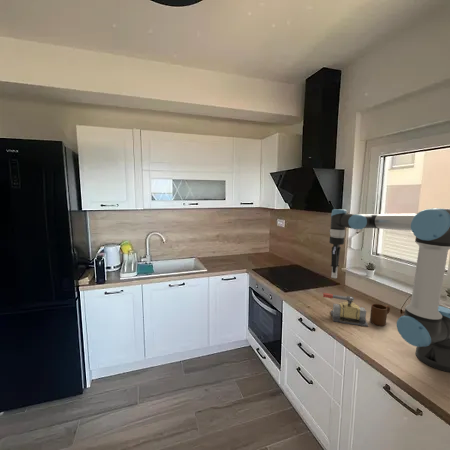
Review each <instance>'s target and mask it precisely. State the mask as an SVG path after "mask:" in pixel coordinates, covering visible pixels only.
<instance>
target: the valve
mask: <svg viewBox="0 0 450 450" xmlns="http://www.w3.org/2000/svg"><path fill="white" fill-rule="evenodd" d="M332 306H333V307H332V310H330V314H331V318H332V321H333V322H334V323H342V324H347V325H352V326H353V325H354V326H361V327H365V328H366V327H369V324H368V322H367V318H366V316H367V310H366V309H365V307H362V306H361V307H360V306H359V305H358V304H356V303H355V302H349V301H342V302H339V303H333V305H332Z"/></svg>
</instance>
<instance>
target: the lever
mask: <svg viewBox="0 0 450 450" xmlns="http://www.w3.org/2000/svg"><path fill="white" fill-rule="evenodd" d="M322 294H323V295H322V297H323V298H328V299H335V300H344V301H346V302H348V301H349V302H352V303H355V302H354V300H355V298H354V296H350V295H347V296H346V295H345V296H344V295H339V294H332V293H327V292H322Z"/></svg>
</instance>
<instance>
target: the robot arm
mask: <svg viewBox="0 0 450 450" xmlns="http://www.w3.org/2000/svg"><path fill="white" fill-rule="evenodd" d="M346 228H347V229H352V230H363V229H382V230H384V229H385V230H397V231H398V230H399V231H411V232H412V233H413V236H415V240H414V241H415V243H416V244H417V245H418V251H417V260H416V266H415V273H414V281H413V287H412V292H411V293H412V294H411V299H410V303H409V304H407V305H405V308H404V314H403V315H401V316H400V317H398V319H397V321H396V329H397V332H398V333H399V335H400V337H401V338H402V339H403V340H404V341H405V342H406V343H408V344H409V345H411V346H413V347H415V348H416V349H415V356H416V357H417V359H419V360H420V361H421V362H423V363H424V364H425V365H428V366H430V367H431V368H434V369H436V370H439V371H443V372H447V373H450V308H448V307H446V306H441V305H440V301H441V300H440V299H441V296H442V289H443V283H444V276H445V272H446V265H447V260H448V254H449V251H450V208H444V207H443V208H439V207H437V208H435V207H432V208H426V209H423V210H420V211H419V212H417V213H380V214H379V213H368V214H367V213H347V209H342V208H339V209H337V208H333V209H332V210H331V214H330V230H329V235H330V236H329V244H331V245H332V247H331V251H330V252H331V264H330V267H331V276H330V278H333V279H337V278H338V267H340V253H341V249H342V248H341V246H342V245H344V244H345V236H346Z"/></svg>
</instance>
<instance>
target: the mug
mask: <svg viewBox="0 0 450 450" xmlns="http://www.w3.org/2000/svg"><path fill="white" fill-rule="evenodd" d="M390 312H391V306H390V305H387V304H386V305H384V304H379V303H372V304H371V308H370V313H369V314H370V315H369V321H370V323H371V324H373V325H374V326H375V325H376V326H378V327H379V326H380V327H383V326H386V325H387V320H388V318H387V317H388V314H389V313H390Z"/></svg>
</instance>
